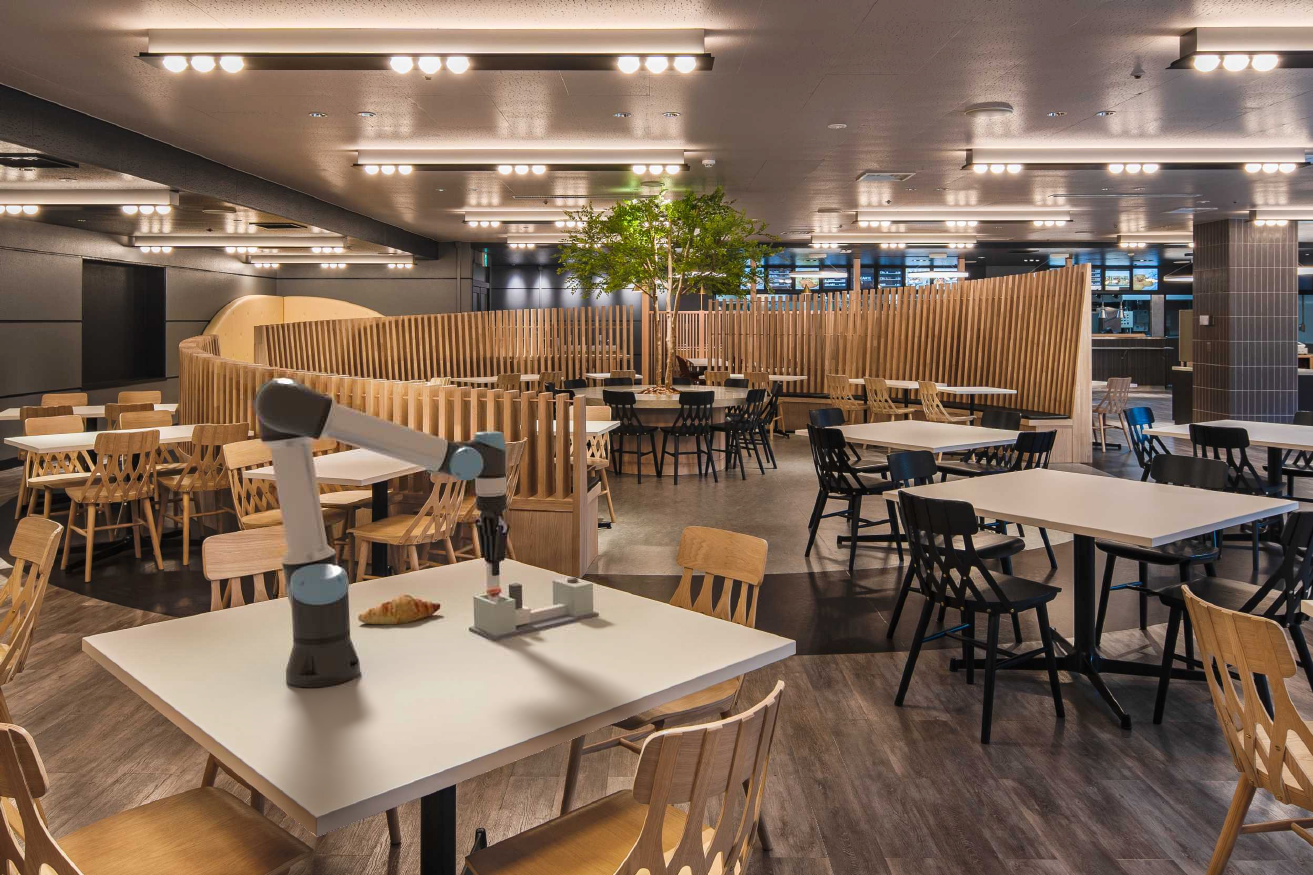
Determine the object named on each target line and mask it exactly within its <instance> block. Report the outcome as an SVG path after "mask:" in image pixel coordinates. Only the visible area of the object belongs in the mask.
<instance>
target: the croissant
mask: <svg viewBox="0 0 1313 875" xmlns="http://www.w3.org/2000/svg"><path fill="white" fill-rule="evenodd" d="M440 609H441V604H440V602H433V601H429V600H428V601H427V600H425V601H423V600H422V599H420V598H413V597H412V595H409V594H400V595H399V596H397V597H395V598H393V599H392V600H388V601H384V602H382V603H380V604H379V605H378V606H376V607H372V608H369V609H368V610H366V611H365V612H364V613H361V614H359V615H358V616H357V618H358V621H359V622H360V623H364V624H368V625H369V624H370V625H399V624H406V623H407V624H408V623H411V622H414V621H417V620H420V619H421V620H422V619H425V618H428V617H430V616H432V615H434V614H436V613H437V612H438V611H439V610H440Z"/></svg>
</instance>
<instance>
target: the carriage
mask: <svg viewBox="0 0 1313 875" xmlns="http://www.w3.org/2000/svg"><path fill="white" fill-rule="evenodd" d="M508 597H509V598H512V599H515V611H516V626H517V625H521V624H526V623H530V615H531V610H532V609H531V608H530V607H528V606H526V605H523V584H520V583H518V582H516V583H510V584H508Z"/></svg>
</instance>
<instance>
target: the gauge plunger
mask: <svg viewBox="0 0 1313 875" xmlns="http://www.w3.org/2000/svg"><path fill="white" fill-rule="evenodd" d="M501 593H502V588H501V587H499V588H494V589H488V588H486V594H489V600H490V601H493V602H495V603H496V602H500V599H499V594H501Z"/></svg>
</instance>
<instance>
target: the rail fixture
mask: <svg viewBox="0 0 1313 875" xmlns="http://www.w3.org/2000/svg"><path fill="white" fill-rule="evenodd" d="M499 599H500V602H496V603H495V602H493V601H490V600H489V594H487V593H483V594H478V595H473V620H474V621H473V626H472V625H471V626H469V627H468V631H469V632H471V633H474V634H477V635H478V636H481V637H483V638H486V639H488V640H490V641H493V642H495V641H497V642H498V641H500V640H504V639H509V638H512V637H517V636H521V635H525V634H529V633H533V632H537V631H542V630H545V629H546V630H547V629H549V628H553V627H558V626H563V625H567V624H570V623H575V622H579V621H583V620H586V619H591V618H595V617H599V616H600V614H599V612H598V611H594V583H593V582H590V581H587V580H584V579H580V578H578V577H573V576H568V577H561V578H557V579H553V580H552V605H548V606H543V607H540V608H539V607H538V608H536V609H535V608H534V609H531V615H530V623H526V624H521V625H517V626H516V611H515V599H512V598H509V596H506V595H503V594H501V593H499Z"/></svg>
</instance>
